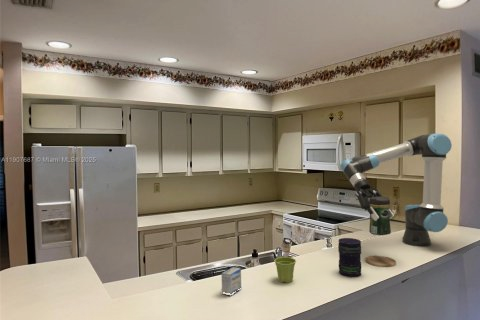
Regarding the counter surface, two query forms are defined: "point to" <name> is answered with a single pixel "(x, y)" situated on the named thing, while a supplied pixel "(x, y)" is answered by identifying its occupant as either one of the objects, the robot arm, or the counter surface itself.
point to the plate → (380, 261)
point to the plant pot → (285, 268)
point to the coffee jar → (380, 216)
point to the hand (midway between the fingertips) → (384, 218)
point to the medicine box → (231, 280)
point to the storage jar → (349, 257)
